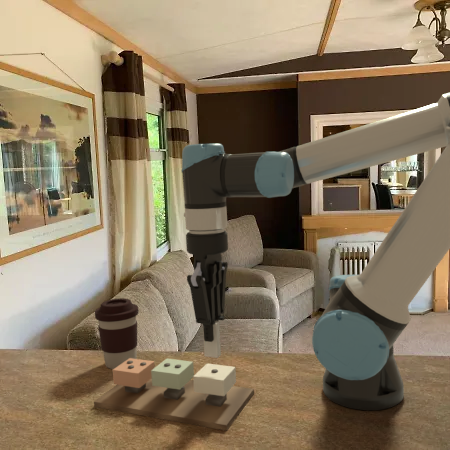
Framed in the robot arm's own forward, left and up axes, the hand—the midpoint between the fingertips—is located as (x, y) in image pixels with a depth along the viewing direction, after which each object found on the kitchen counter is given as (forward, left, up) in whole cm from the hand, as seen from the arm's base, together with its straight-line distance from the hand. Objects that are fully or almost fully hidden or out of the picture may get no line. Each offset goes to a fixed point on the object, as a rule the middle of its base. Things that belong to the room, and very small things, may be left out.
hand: (212, 355), depth 90 cm
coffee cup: (+30, -12, -10) cm, 34 cm away
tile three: (+18, 0, -7) cm, 19 cm away
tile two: (+9, 0, -6) cm, 11 cm away
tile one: (0, 0, -6) cm, 6 cm away
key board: (+9, 0, -10) cm, 13 cm away
